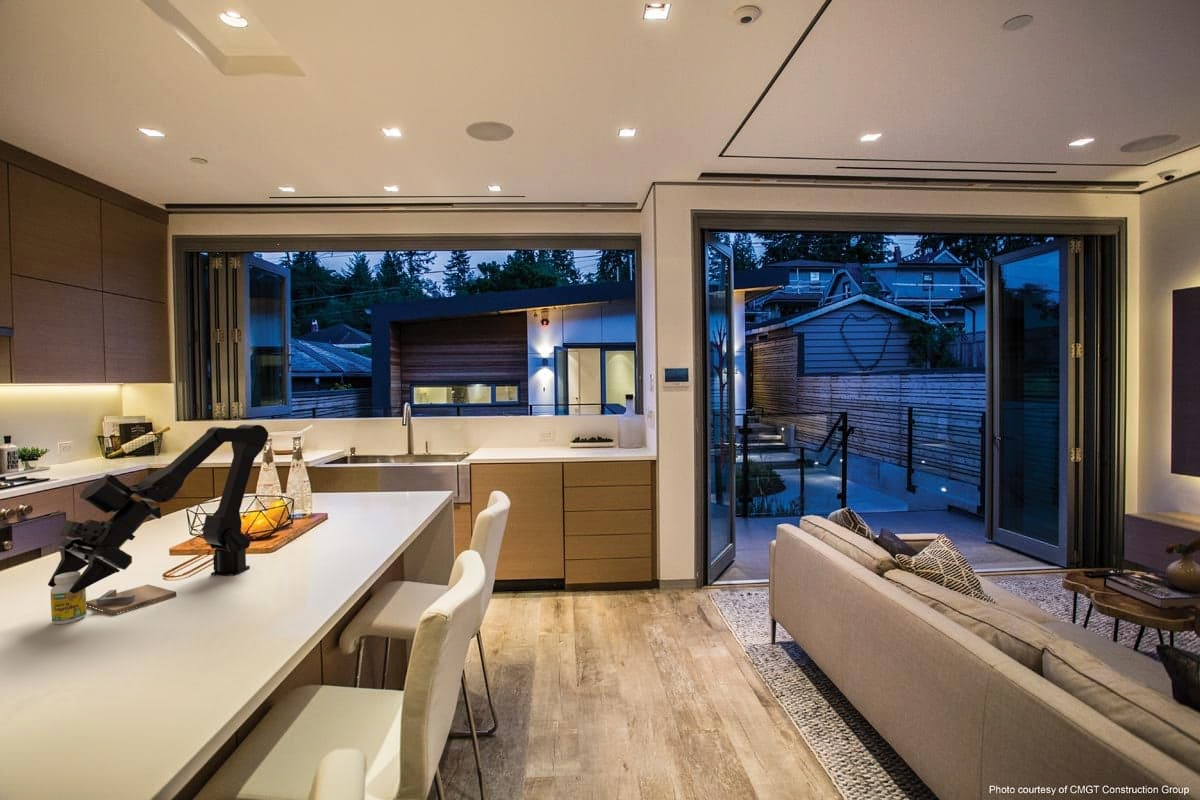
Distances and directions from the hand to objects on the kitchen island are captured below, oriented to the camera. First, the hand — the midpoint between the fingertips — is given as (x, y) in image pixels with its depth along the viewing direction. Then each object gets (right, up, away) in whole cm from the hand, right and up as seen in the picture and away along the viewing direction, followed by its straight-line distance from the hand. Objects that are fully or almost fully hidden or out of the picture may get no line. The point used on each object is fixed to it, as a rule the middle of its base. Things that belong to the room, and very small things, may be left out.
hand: (60, 589), depth 117 cm
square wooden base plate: (+5, -6, +11) cm, 14 cm away
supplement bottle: (+1, -7, +1) cm, 7 cm away
